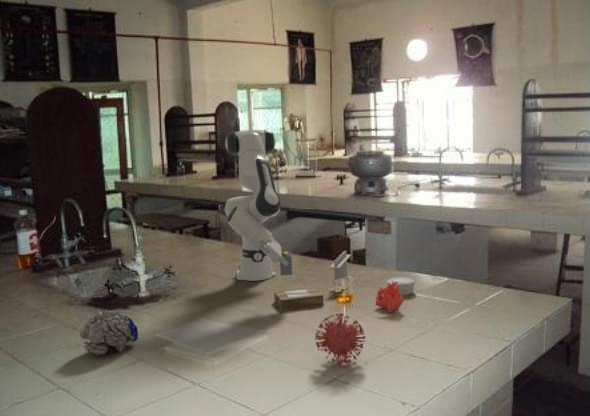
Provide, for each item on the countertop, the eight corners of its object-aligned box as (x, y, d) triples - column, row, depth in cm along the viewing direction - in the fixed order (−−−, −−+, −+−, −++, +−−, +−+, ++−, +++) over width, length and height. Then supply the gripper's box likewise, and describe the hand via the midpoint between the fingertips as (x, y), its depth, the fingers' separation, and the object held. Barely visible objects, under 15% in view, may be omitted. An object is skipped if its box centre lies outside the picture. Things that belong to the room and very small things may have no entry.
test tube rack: (342, 277, 289) (341, 249, 288) (351, 278, 288) (351, 249, 286) (330, 292, 266) (329, 262, 264) (340, 292, 264) (339, 262, 263)
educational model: (138, 364, 210) (151, 320, 214) (95, 357, 194) (109, 309, 198) (109, 356, 218) (122, 313, 221) (65, 349, 201) (79, 302, 205)
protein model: (378, 309, 244) (381, 279, 245) (406, 314, 237) (409, 283, 238) (367, 309, 237) (370, 278, 238) (396, 314, 230) (399, 282, 231)
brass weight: (281, 255, 249) (281, 251, 249) (288, 255, 249) (288, 251, 249) (281, 257, 246) (281, 253, 246) (288, 256, 246) (288, 252, 246)
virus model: (306, 363, 189) (304, 316, 187) (339, 349, 199) (337, 304, 197) (343, 376, 179) (341, 326, 177) (375, 361, 189) (374, 313, 187)
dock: (274, 302, 255) (274, 292, 254) (314, 297, 260) (313, 287, 259) (282, 310, 244) (281, 299, 243) (323, 304, 248) (323, 294, 248)
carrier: (280, 272, 251) (279, 253, 250) (291, 271, 252) (291, 253, 250) (280, 275, 246) (279, 256, 245) (292, 274, 246) (291, 256, 245)
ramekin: (386, 296, 256) (385, 283, 256) (388, 289, 267) (388, 276, 266) (414, 297, 254) (413, 284, 253) (415, 289, 264) (415, 277, 264)
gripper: (266, 238, 236) (293, 262, 238) (267, 229, 256) (292, 251, 258) (255, 250, 237) (282, 274, 238) (256, 240, 257) (281, 262, 258)
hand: (287, 262), depth 248 cm, fingers closed on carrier, 5 cm apart
